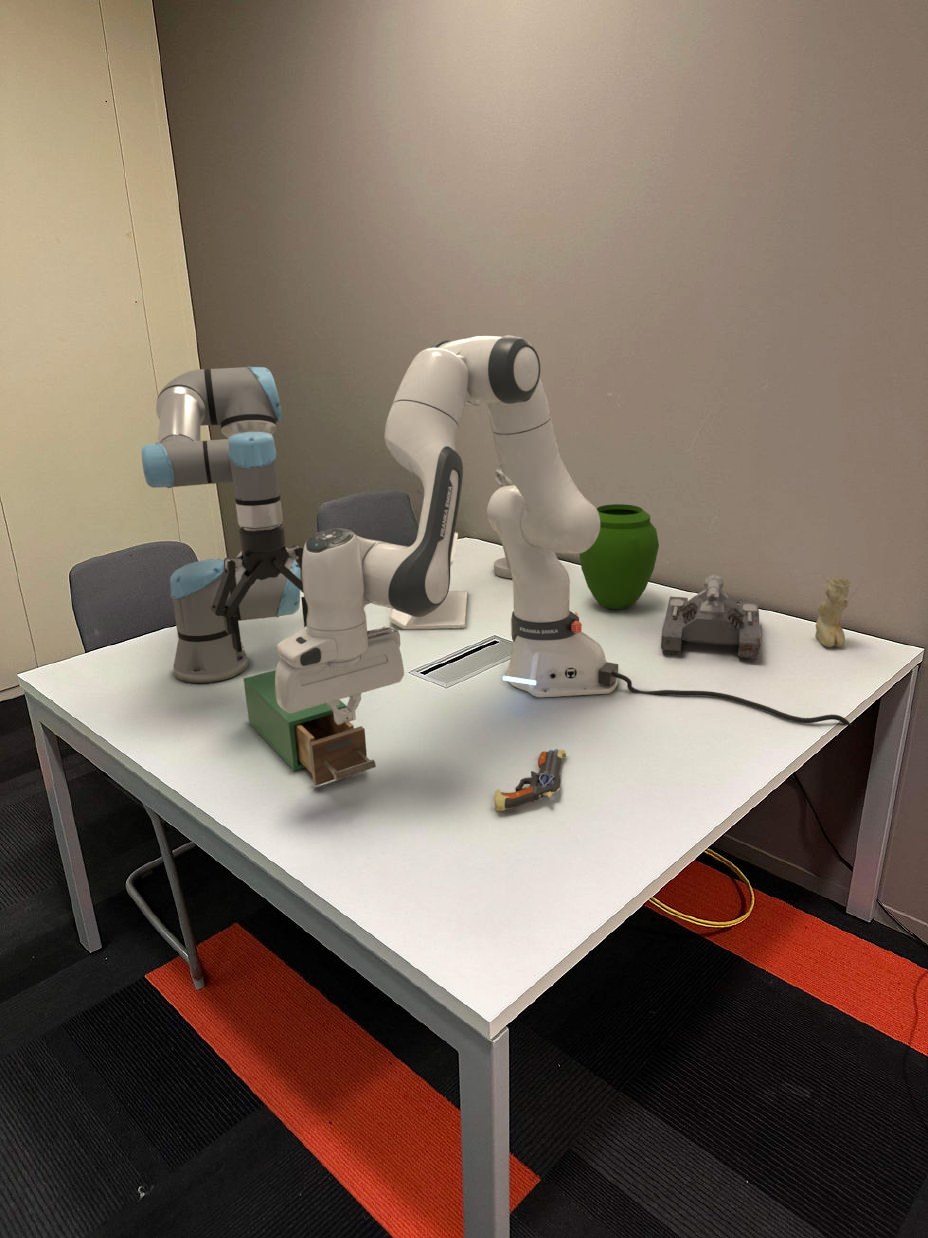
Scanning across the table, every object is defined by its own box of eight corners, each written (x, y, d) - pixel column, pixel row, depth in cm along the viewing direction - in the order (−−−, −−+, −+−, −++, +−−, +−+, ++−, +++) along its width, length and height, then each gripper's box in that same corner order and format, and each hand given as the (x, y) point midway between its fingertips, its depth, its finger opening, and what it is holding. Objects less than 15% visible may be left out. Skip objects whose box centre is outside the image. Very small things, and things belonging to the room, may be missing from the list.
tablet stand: (467, 593, 225) (465, 531, 219) (465, 628, 202) (462, 559, 196) (399, 594, 226) (395, 532, 220) (388, 629, 203) (384, 560, 197)
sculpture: (821, 649, 184) (830, 583, 179) (808, 637, 191) (816, 573, 185) (848, 649, 184) (858, 582, 179) (834, 636, 191) (843, 572, 185)
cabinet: (350, 753, 148) (346, 705, 145) (294, 771, 143) (288, 722, 140) (301, 707, 165) (296, 664, 162) (249, 722, 160) (243, 678, 157)
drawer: (384, 783, 137) (381, 742, 134) (331, 802, 132) (327, 760, 130) (317, 721, 157) (313, 685, 155) (269, 736, 153) (264, 699, 150)
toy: (668, 615, 206) (672, 556, 200) (756, 622, 200) (762, 561, 195) (660, 656, 183) (663, 590, 178) (758, 664, 177) (765, 596, 172)
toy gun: (490, 800, 128) (557, 798, 126) (507, 746, 146) (566, 744, 144) (492, 816, 129) (558, 814, 127) (509, 761, 147) (567, 758, 145)
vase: (599, 587, 227) (601, 497, 218) (668, 600, 216) (673, 505, 208) (562, 608, 212) (564, 513, 204) (634, 623, 202) (639, 523, 193)
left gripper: (319, 510, 155) (329, 619, 163) (181, 533, 142) (199, 650, 150) (337, 518, 149) (346, 631, 157) (194, 542, 137) (212, 664, 144)
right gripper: (389, 617, 135) (394, 696, 140) (266, 647, 125) (276, 731, 130) (408, 629, 130) (413, 710, 135) (282, 661, 120) (292, 748, 125)
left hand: (274, 640), depth 153 cm, fingers open, 13 cm apart
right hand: (345, 721), depth 132 cm, fingers closed
